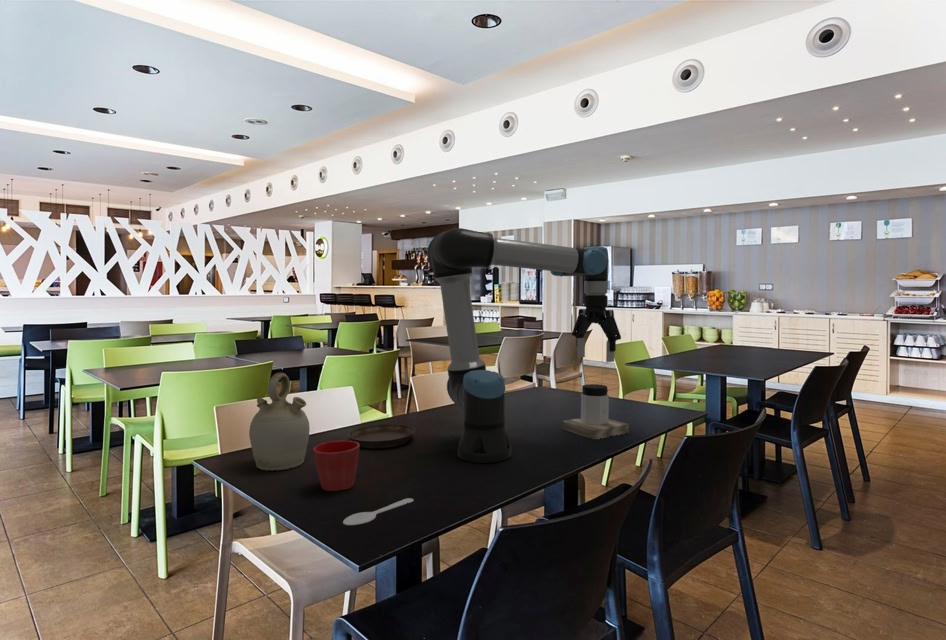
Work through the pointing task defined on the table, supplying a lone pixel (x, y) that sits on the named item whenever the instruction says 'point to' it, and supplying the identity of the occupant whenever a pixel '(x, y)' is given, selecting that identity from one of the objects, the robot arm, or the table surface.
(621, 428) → the base board
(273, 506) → the table surface
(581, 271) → the robot arm
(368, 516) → the spoon
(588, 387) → the jar
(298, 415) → the jug
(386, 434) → the plant saucer
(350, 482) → the flower pot
